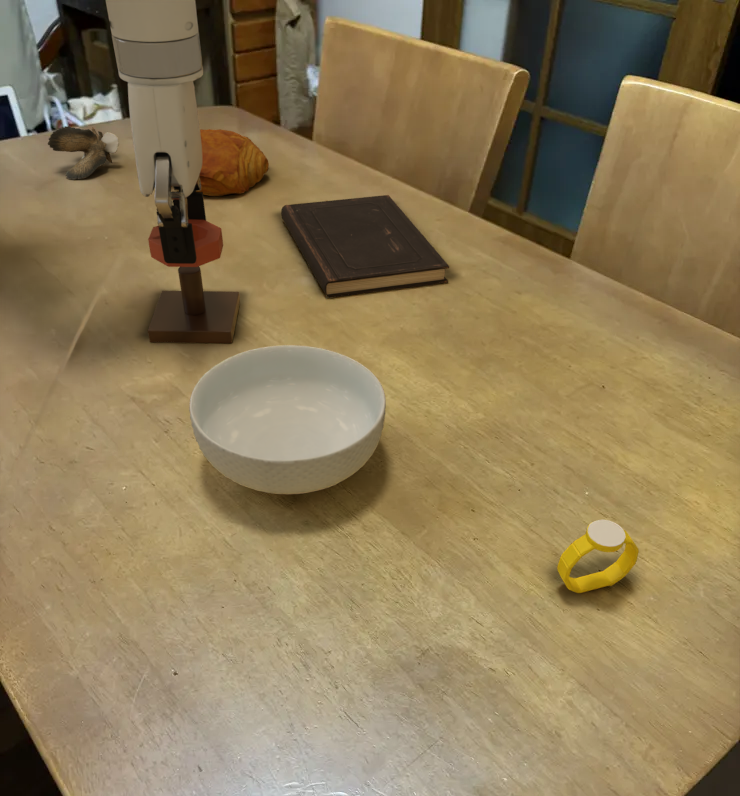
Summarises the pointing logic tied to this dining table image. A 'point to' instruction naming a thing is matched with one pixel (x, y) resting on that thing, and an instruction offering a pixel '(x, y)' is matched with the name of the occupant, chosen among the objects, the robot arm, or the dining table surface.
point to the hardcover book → (362, 246)
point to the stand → (194, 312)
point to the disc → (204, 239)
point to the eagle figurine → (84, 148)
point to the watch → (603, 539)
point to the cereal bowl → (288, 418)
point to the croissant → (229, 163)
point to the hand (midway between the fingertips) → (186, 244)
